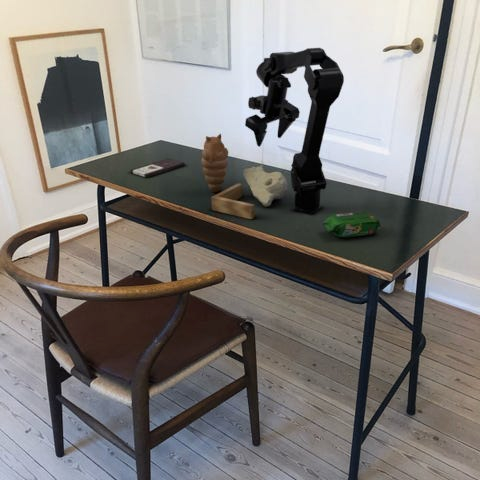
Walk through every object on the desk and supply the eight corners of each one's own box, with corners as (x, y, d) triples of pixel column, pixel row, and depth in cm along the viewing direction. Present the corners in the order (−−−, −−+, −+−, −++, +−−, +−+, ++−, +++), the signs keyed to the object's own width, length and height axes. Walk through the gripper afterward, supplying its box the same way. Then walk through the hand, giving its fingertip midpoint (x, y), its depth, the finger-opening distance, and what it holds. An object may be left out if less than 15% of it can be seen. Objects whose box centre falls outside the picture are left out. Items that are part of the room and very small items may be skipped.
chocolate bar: (184, 162, 193) (146, 174, 182) (184, 165, 194) (147, 177, 182) (168, 158, 198) (130, 169, 187) (168, 160, 199) (130, 172, 188)
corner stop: (276, 203, 160) (276, 191, 158) (251, 219, 150) (251, 206, 148) (238, 195, 167) (237, 183, 164) (211, 210, 157) (211, 197, 154)
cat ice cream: (210, 198, 165) (207, 139, 155) (197, 191, 170) (194, 134, 160) (233, 192, 169) (232, 135, 159) (220, 186, 174) (218, 129, 164)
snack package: (318, 231, 142) (319, 213, 139) (371, 225, 145) (374, 207, 142) (327, 242, 137) (329, 224, 134) (383, 235, 139) (386, 217, 136)
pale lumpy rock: (290, 213, 159) (296, 170, 163) (279, 201, 153) (285, 157, 157) (247, 220, 167) (253, 179, 171) (235, 209, 161) (242, 166, 165)
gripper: (279, 76, 166) (272, 122, 178) (235, 91, 157) (231, 138, 169) (305, 92, 162) (295, 137, 174) (261, 108, 153) (254, 155, 165)
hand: (268, 141), depth 170 cm, fingers open, 9 cm apart
